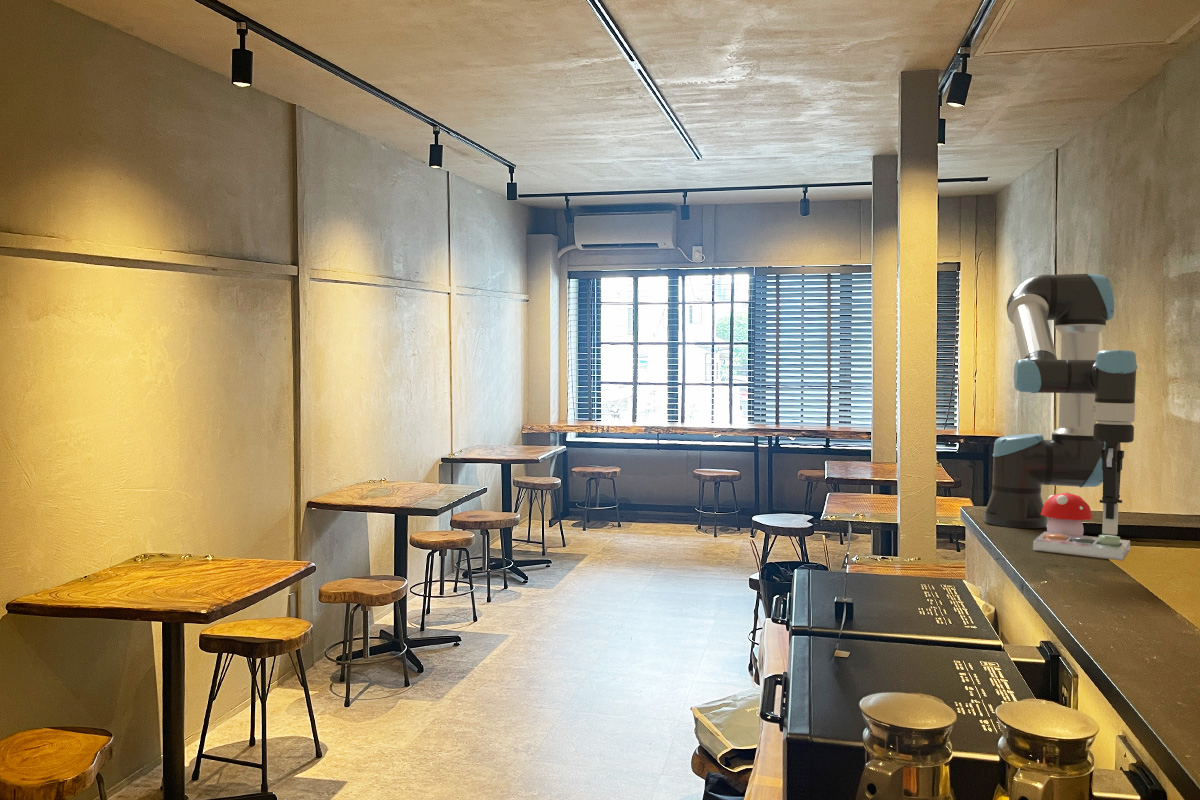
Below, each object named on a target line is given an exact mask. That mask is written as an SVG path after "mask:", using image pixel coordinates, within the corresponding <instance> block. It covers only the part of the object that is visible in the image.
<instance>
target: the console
mask: <svg viewBox="0 0 1200 800" xmlns="http://www.w3.org/2000/svg"><path fill="white" fill-rule="evenodd" d="M1046 534H1060V535H1065V536H1066V541H1064V540H1055V539H1046V538H1045V535H1046ZM1076 536H1077V537H1088V538H1092V539H1093V540H1092V544H1091V543H1082V542H1073V541H1072V537H1076ZM1032 550H1033V551H1036V552H1037V551H1038V552H1046V553H1053V554H1055V553H1056V554H1063V555H1072V556H1081V557H1088V558H1098V559H1107V560H1115V561H1123V562H1124V560H1125V558H1126V557H1127V555H1128V554H1129V552H1130V551H1131V540H1129V539H1128V540H1127V539H1120V547H1119V546H1110V545H1101V544H1099V536H1090V535H1084V534H1083V535H1073V534H1064V533H1054V532H1047V531H1043V532H1042V533H1041V534H1040V535H1038V536H1037V537H1035V539H1034V540H1033V543H1032Z"/></svg>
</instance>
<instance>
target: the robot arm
mask: <svg viewBox="0 0 1200 800" xmlns="http://www.w3.org/2000/svg"><path fill="white" fill-rule="evenodd" d="M1112 286H1113V285H1112V284H1111V281H1110V279H1109V278H1108V277H1107V276H1105V275H1104V274H1097V273H1096V274H1095V273H1073V274H1071V273H1068V274H1066V273H1065V274H1039V275H1035V276H1031V277H1030V278H1028V279H1025V280H1024V281H1022V282H1021V283H1020V284H1019V285H1017V287H1015V288H1014V290H1013V291H1012V292H1011V293H1010V294H1009V297H1008V300H1007V302H1006V313H1007V314H1006V315H1007V318H1008V320H1009V321H1010V322H1011V324H1013V328H1014V332H1015V338H1016V342H1017V347H1018V351H1019V357H1020V359H1018V360H1016V361H1015V364H1014V368H1013V369H1014V370H1013V383H1014V384H1013V385H1014V389H1015V390H1016V391H1018V392H1022V393H1023V392H1024V393H1031V394H1037V393H1040V394H1044V393H1045V394H1046V393H1047V394H1048V393H1049V394H1052V393H1053V394H1058V395H1059V400H1058V402H1059V403H1058V426H1057V428H1056V429H1054V430H1053V431H1052V432H1051V439H1044V435H1043V434H1041V433H1026V434H1025V433H1024V434H1013V435H1004V436H999V437H998V438H996V439H995V440H994V443H993V453H992V457H993V463H992V484H991V485H992V487H991V495H990V497H989V500H988V502H987V504H986V508H985V510H984V514H983V521H984V523H986V524H989V525H993V526H998V527H999V526H1000V527H1005V528H1015V529H1043V528H1044V529H1045V528H1047V523H1048V519H1049V517H1046V516H1043V515H1041V512H1042V509H1043V506H1044V501H1043V498H1042V486H1043V485H1044V486H1057V487H1058V486H1059V487H1060V486H1061V487H1078V488H1089V487H1090V488H1095V487H1098V486H1099V487H1100V486H1101V485H1102V496H1101V497H1102V498H1101V499H1099V504H1102V526H1101V531H1102V532H1101V535H1113V536H1117V535H1118V532H1119V531H1118V527H1119V526H1118V525H1119V524H1118V523H1119V504H1123V500H1122V499H1120V498H1121V495H1120V491H1121V490H1120V489H1121V475H1122V470H1123V459H1124V458H1125V450H1122V449H1121V443H1122V444H1124V443H1125V444H1127V443H1133V441H1134V439H1135V426H1134V425H1133V424H1132V423H1134V422H1135V421H1136V420H1135V418H1136V383H1137V382H1136V381H1137V370H1138V365H1137V354H1136V352H1134V351H1133V350H1129V349H1128V350H1127V349H1126V350H1125V349H1124V350H1123V349H1122V350H1121V349H1116V350H1112V349H1110V350H1109V349H1103V350H1099V343H1100V342H1099V340H1100V339H1099V337H1100V333H1101V332H1102V331H1103V330H1104V329H1105V328H1107V327H1106V325H1107V321H1108V322H1109V321H1111V320H1112V319H1113V318H1114V315H1115V296H1114V290H1113V287H1112ZM1049 321H1054V328H1055V329H1056V330H1057V331H1058V332H1059V333H1060V359H1058V356H1057V353H1056V348H1055V344H1054V341H1053V337H1052V333H1051V329H1050V325H1049Z"/></svg>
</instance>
